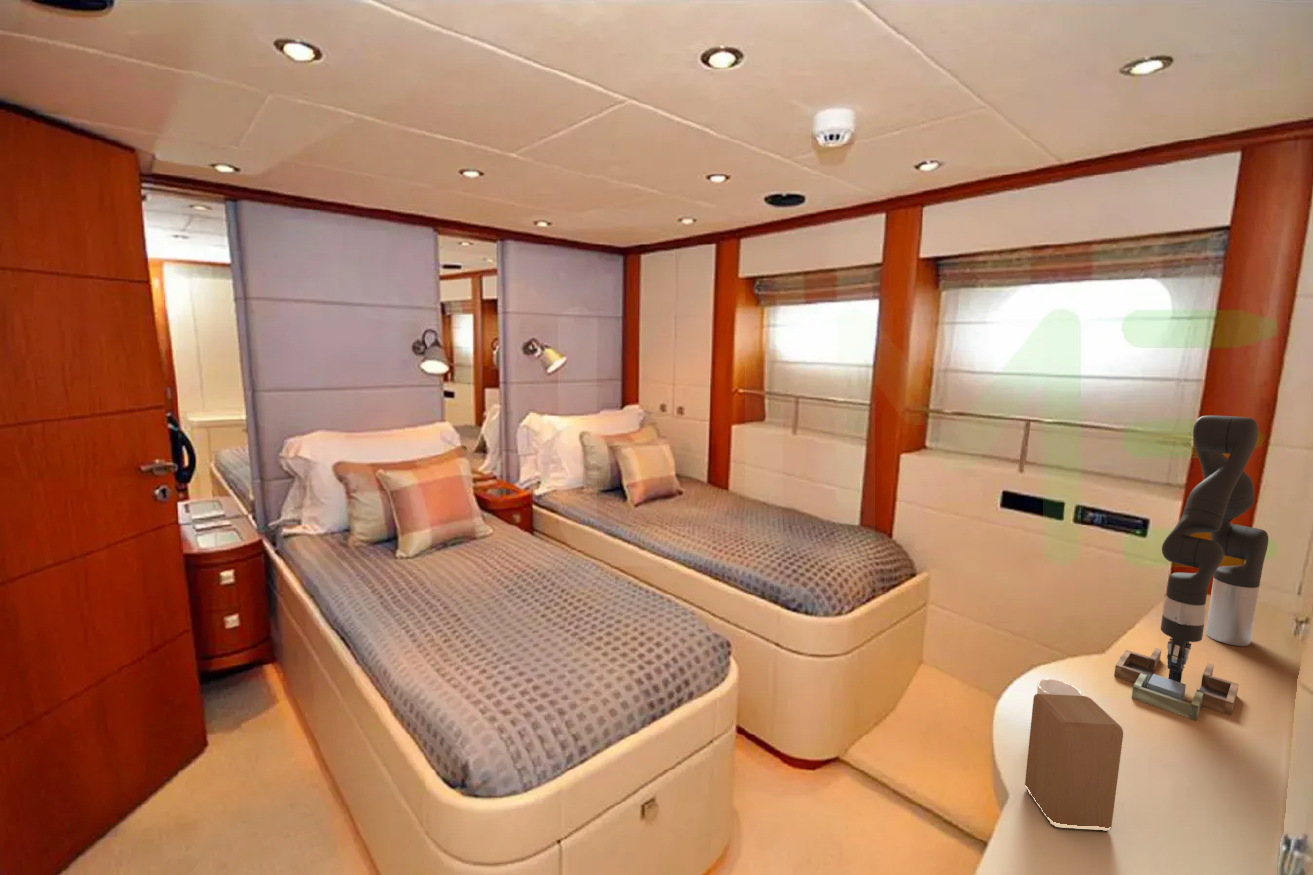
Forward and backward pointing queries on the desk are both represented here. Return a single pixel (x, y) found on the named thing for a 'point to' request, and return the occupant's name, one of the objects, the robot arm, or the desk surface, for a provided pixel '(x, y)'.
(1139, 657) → the box
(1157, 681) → the slate block
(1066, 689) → the white cup
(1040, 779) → the wooden block
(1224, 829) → the desk surface
